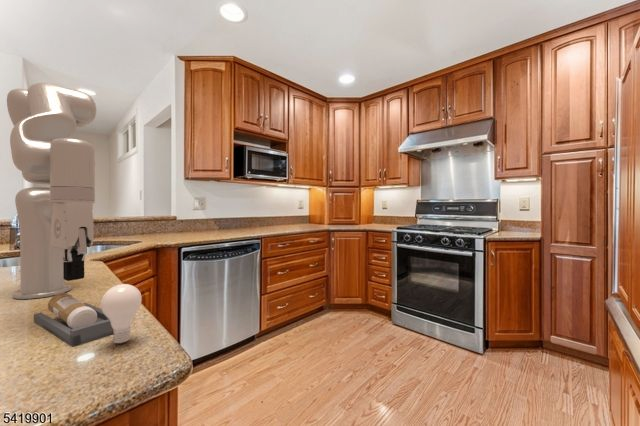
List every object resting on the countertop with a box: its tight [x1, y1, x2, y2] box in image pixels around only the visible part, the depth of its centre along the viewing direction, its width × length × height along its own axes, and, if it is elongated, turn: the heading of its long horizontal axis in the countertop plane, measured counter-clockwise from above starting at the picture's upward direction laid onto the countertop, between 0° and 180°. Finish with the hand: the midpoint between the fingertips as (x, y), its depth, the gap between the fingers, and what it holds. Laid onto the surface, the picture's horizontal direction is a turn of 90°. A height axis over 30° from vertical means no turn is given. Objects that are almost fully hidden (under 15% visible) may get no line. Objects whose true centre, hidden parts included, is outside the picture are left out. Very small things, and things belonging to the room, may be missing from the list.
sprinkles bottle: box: [47, 292, 97, 329], centre depth 62 cm, size 5×5×13 cm
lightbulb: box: [100, 283, 143, 345], centre depth 54 cm, size 6×6×11 cm
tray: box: [33, 302, 114, 347], centre depth 63 cm, size 22×9×3 cm, turn 58°
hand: (74, 279), depth 64 cm, fingers closed
